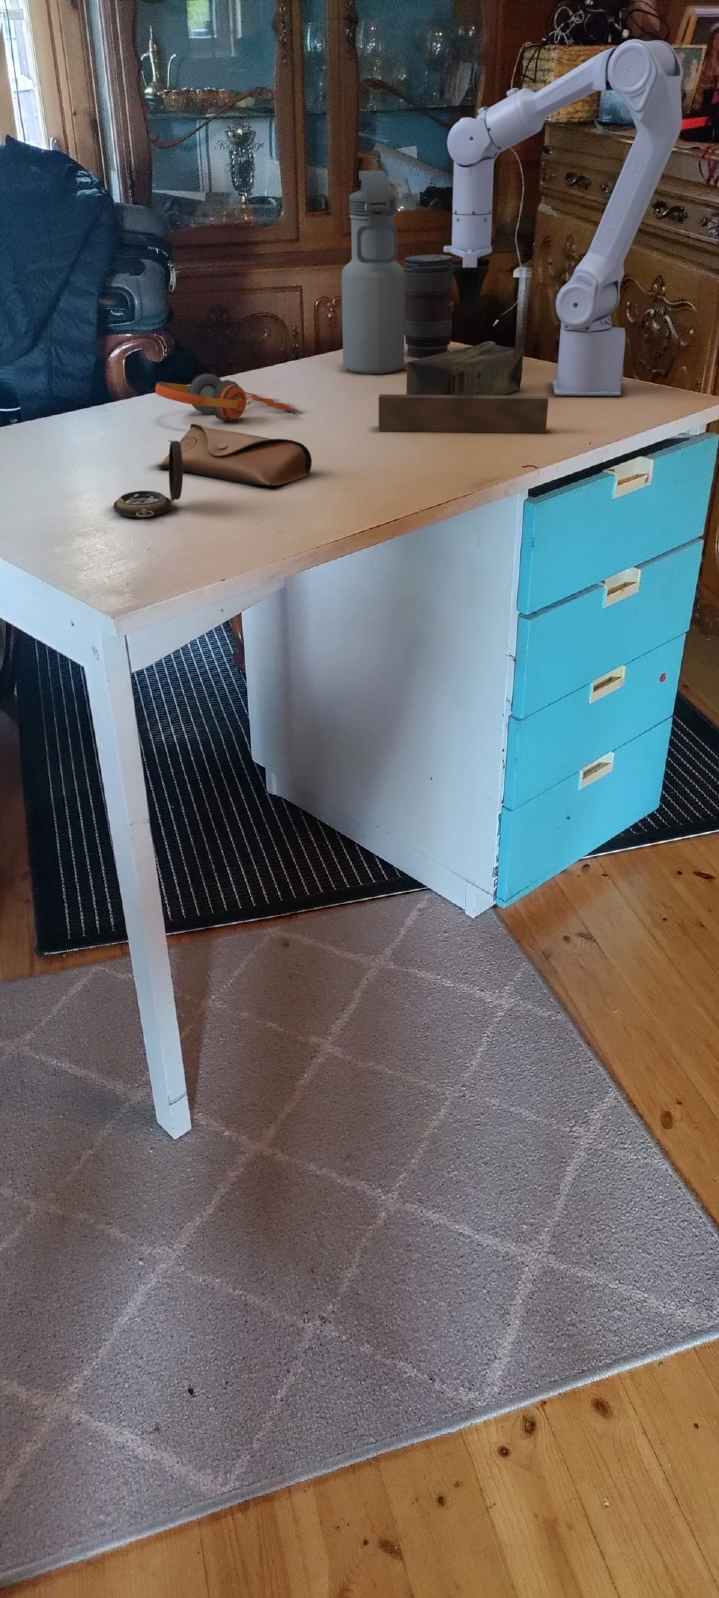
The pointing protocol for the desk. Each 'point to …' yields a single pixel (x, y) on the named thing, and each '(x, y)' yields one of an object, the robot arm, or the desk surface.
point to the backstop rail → (463, 413)
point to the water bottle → (373, 282)
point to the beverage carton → (467, 371)
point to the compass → (151, 500)
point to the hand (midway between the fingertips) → (468, 313)
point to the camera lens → (428, 304)
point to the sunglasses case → (242, 457)
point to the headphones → (214, 396)
